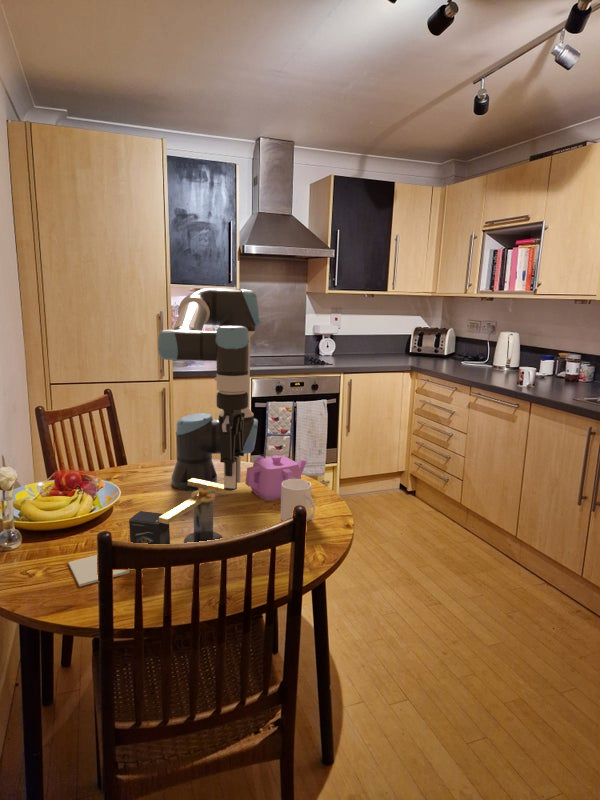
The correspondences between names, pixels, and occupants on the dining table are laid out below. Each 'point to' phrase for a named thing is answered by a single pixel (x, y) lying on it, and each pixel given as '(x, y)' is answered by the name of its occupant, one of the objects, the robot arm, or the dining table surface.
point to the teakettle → (272, 475)
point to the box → (148, 529)
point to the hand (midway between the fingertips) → (232, 484)
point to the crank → (197, 497)
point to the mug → (296, 497)
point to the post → (203, 524)
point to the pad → (89, 570)
